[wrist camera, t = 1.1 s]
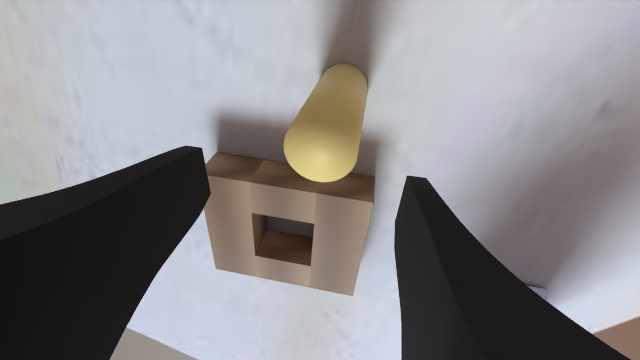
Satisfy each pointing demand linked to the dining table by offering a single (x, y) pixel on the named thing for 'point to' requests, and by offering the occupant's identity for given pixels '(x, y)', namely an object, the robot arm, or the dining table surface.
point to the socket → (289, 203)
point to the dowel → (329, 126)
